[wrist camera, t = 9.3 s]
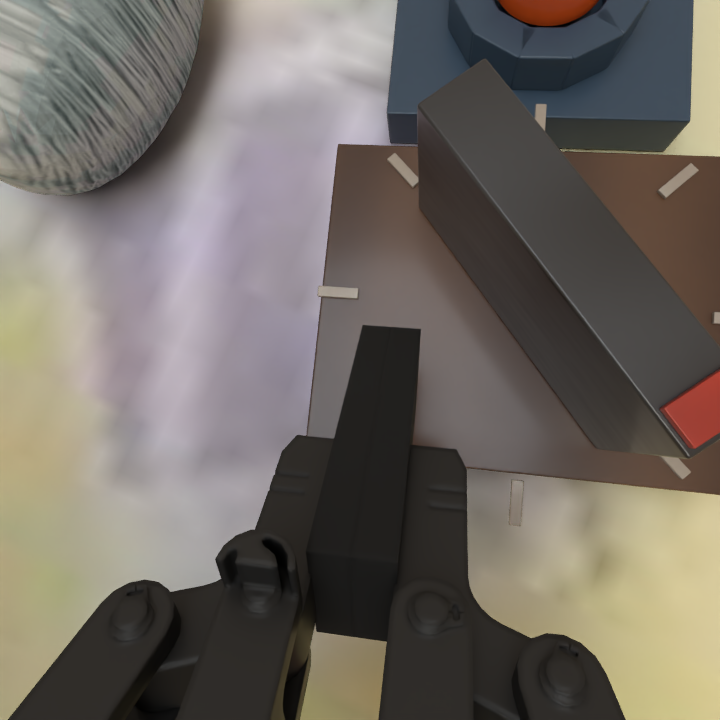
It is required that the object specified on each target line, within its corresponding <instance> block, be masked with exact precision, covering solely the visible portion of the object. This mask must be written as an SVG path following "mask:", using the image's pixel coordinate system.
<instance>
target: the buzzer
mask: <svg viewBox="0 0 720 720" xmlns="http://www.w3.org/2000/svg"><path fill="white" fill-rule="evenodd" d="M692 37H693V0H599V1H598V2H597V3H596V5H595V6H594V7H593V8H592V9H591V10H589V11H588V12H587V13H586V14H584V15H583V16H581V17H580V18H578V19H576V20H574V21H571V22H569V23H566V24H562V25H557V26H547V27H546V26H536V25H531V24H527V23H524V22H522V21H520V20H518V19H516V18H514V17H513V16H511V15H510V14H509V13H508V12H507V11H506V10H505V9H504V8H503V7H502V6H501V4H500V3H499V1H498V0H398V3H397V14H396V24H395V34H394V44H393V55H392V65H391V75H390V85H389V95H388V106H387V119H388V128H389V137H390V142H391V143H416V144H418V129H417V105H418V104H419V103H420V102H421V101H423V100H424V99H426V98H427V97H429V96H430V95H432V94H433V93H434V92H436V91H437V90H439V89H440V88H442V87H443V86H445V85H446V84H448V83H449V82H450V81H452V80H453V79H455V78H456V77H458V76H459V75H461V74H462V73H464V72H465V71H466V70H468V69H469V68H471V67H472V66H474V65H475V64H477V63H478V62H480V61H481V60H482V59H487V60H488V62H489V63H490V64H491V65H492V67H493V68H494V69H495V70H496V71H497V73H498V74H499V75H500V76H501V78H502V79H503V80H504V81H505V83H506V84H507V85H508V86H509V88H510V89H511V90H512V91H513V92H514V94H515V95H516V96H517V97H518V99H519V100H520V101H521V102H522V104H523V105H524V106H525V107H526V108H527V110H528V111H529V112H530V113H531V115H532V116H533V117H535V106H536V104H547V107H546V123H545V132H546V133H547V134H548V136H549V137H550V138H551V139H552V140H553V142H554V143H555V144H556V145H557V147H558V148H572V149H603V150H634V151H664V150H665V149H666V148H667V147H668V146H669V145H670V144H671V142H672V141H673V140H674V139H675V138H676V137H677V135H678V134H679V133H680V132H681V131H682V130H683V129H684V127H685V126H686V125H687V124H688V123H689V122H690V109H691V73H692Z"/></svg>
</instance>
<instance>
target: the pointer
mask: <svg viewBox="0 0 720 720" xmlns="http://www.w3.org/2000/svg"><path fill="white" fill-rule="evenodd" d="M417 129H418V189H419V208H420V209H421V211H422V212H423V213H424V215H425V216H426V217H427V219H428V220H429V221H430V223H431V224H432V226H433V227H434V228H435V230H436V231H437V232H438V234H439V235H440V236H441V238H442V239H443V240H444V242H445V243H446V245H447V246H448V247H449V249H450V250H451V251H452V253H453V254H454V255H455V257H456V258H457V260H458V261H459V262H460V264H461V265H462V266H463V268H464V269H465V270H466V272H467V273H468V274H469V276H470V277H471V279H472V280H473V281H474V283H475V284H476V285H477V287H478V288H479V289H480V291H481V292H482V294H483V295H484V296H485V298H486V299H487V300H488V302H489V303H490V304H491V306H492V307H493V308H494V310H495V311H496V313H497V314H498V315H499V317H500V318H501V319H502V321H503V322H504V323H505V325H506V326H507V328H508V329H509V330H510V332H511V333H512V334H513V336H514V337H515V338H516V340H517V341H518V342H519V344H520V345H521V347H522V348H523V349H524V351H525V352H526V353H527V355H528V356H529V357H530V359H531V360H532V362H533V363H534V364H535V366H536V367H537V368H538V370H539V371H540V372H541V374H542V375H543V376H544V378H545V379H546V381H547V382H548V383H549V385H550V386H551V387H552V389H553V390H554V391H555V393H556V394H557V395H558V397H559V398H560V400H561V401H562V402H563V404H564V405H565V406H566V408H567V409H568V410H569V412H570V413H571V415H572V416H573V417H574V419H575V420H576V421H577V423H578V424H579V425H580V427H581V428H582V429H583V431H584V432H585V434H586V435H587V436H588V438H589V439H590V440H591V442H592V443H593V444H594V446H595V447H596V448H597V449H601V450H610V451H619V452H628V453H637V454H646V455H655V456H664V457H673V458H682V459H691V458H693V457H694V456H696V455H697V454H699V453H700V452H702V451H703V450H705V449H706V448H708V447H709V446H711V445H712V444H714V443H715V442H717V441H718V440H720V346H719V345H718V344H717V342H716V341H715V340H714V339H713V338H712V336H711V335H710V334H709V333H708V331H707V330H706V329H705V328H704V326H703V325H702V324H701V323H700V322H699V320H698V319H697V318H696V317H695V315H694V314H693V313H692V312H691V310H690V309H689V308H688V307H687V306H686V304H685V303H684V302H683V301H682V299H681V298H680V297H679V296H678V294H677V293H676V292H675V291H674V290H673V288H672V287H671V286H670V285H669V283H668V282H667V281H666V280H665V278H664V277H663V276H662V275H661V273H660V272H659V271H658V270H657V269H656V267H655V266H654V265H653V264H652V262H651V261H650V260H649V259H648V257H647V256H646V255H645V254H644V253H643V251H642V250H641V249H640V248H639V246H638V245H637V244H636V243H635V241H634V240H633V239H632V238H631V237H630V235H629V234H628V233H627V232H626V230H625V229H624V228H623V227H622V225H621V224H620V223H619V222H618V221H617V219H616V218H615V217H614V216H613V214H612V213H611V212H610V211H609V209H608V208H607V207H606V206H605V205H604V203H603V202H602V201H601V200H600V198H599V197H598V196H597V195H596V193H595V192H594V191H593V190H592V189H591V187H590V186H589V185H588V184H587V182H586V181H585V180H584V179H583V177H582V176H581V175H580V174H579V172H578V171H577V170H576V169H575V168H574V166H573V165H572V164H571V163H570V161H569V160H568V159H567V158H566V156H565V155H564V154H563V153H562V152H561V150H560V149H559V148H558V147H557V145H556V144H555V143H554V142H553V140H552V139H551V138H550V137H549V136H548V134H547V133H546V132H545V131H544V129H543V128H542V127H541V126H540V124H539V123H538V122H537V121H536V120H535V118H534V117H533V116H532V115H531V113H530V112H529V111H528V110H527V108H526V107H525V106H524V105H523V104H522V102H521V101H520V100H519V99H518V97H517V96H516V95H515V94H514V92H513V91H512V90H511V89H510V88H509V86H508V85H507V84H506V83H505V81H504V80H503V79H502V78H501V76H500V75H499V74H498V73H497V71H496V70H495V69H494V68H493V67H492V65H491V64H490V63H489V62H488V60H487V59H482V60H481V61H480V62H478V63H477V64H475V65H474V66H472V67H471V68H469V69H468V70H466V71H465V72H464V73H462V74H461V75H459V76H458V77H456V78H455V79H453V80H452V81H450V82H449V83H448V84H446V85H445V86H443V87H442V88H440V89H439V90H437V91H436V92H434V93H433V94H432V95H430V96H429V97H427V98H426V99H424V100H423V101H421V102H420V103H419V104H418V105H417Z"/></svg>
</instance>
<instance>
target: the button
mask: <svg viewBox="0 0 720 720" xmlns="http://www.w3.org/2000/svg"><path fill="white" fill-rule="evenodd" d="M498 1H499V3H500V4H501V6H502V7H503V8H504V9H505V10H506V11H507V12H508V13H509V14H510V15H511V16H513V17H514V18H516V19H518V20H520V21H522V22H524V23H527V24H531V25H536V26H546V27H547V26H557V25H562V24H566V23H569V22H571V21H574V20H576V19H578V18H580V17H581V16H583V15H584V14H586V13H587V12H588V11H589V10H591V9H592V8H593V7H594V6H595V5H596V3H597V2H598V1H599V0H498Z"/></svg>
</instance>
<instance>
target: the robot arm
mask: <svg viewBox="0 0 720 720" xmlns="http://www.w3.org/2000/svg"><path fill="white" fill-rule="evenodd" d="M420 338H421V329H415V328H400V327H386V326H371V325H363V326H362V330H361V333H360V337H359V341H358V345H357V349H356V353H355V357H354V361H353V365H352V369H351V373H350V377H349V381H348V385H347V389H346V393H345V397H344V401H343V405H342V409H341V413H340V417H339V421H338V425H337V429H336V433H335V437H334V439H333V438H322V437H312V436H302V435H297V436H296V437H295V438H294V439H293V440H292V441H291V442H290V443H289V444H288V446H287V447H286V448H285V449H284V450H283V451H282V453H281V456H280V459H279V462H278V465H277V468H276V470H275V475H274V476H273V479H272V482H271V485H270V490H269V491H268V494H267V496H266V499H265V502H264V505H263V508H262V511H261V514H260V517H259V520H258V522H257V525H256V528H255V530H249V531H247V532H244V533H242V534H239V535H236V536H235V537H234V538H233V539H231V540H230V541H229V542H228V543H226V544H225V545H224V546H223V548H222V549H221V551H220V552H219V554H218V556H217V557H216V559H215V560H216V563H217V566H218V569H219V572H220V576H221V579H220V580H218V581H217V582H214V583H211V584H208V585H204V586H200V587H195V588H189V589H184V590H179V591H174V592H170V591H169V590H168V589H167V588H166V587H164V586H163V585H162V584H160V583H159V582H155V581H149V580H141V581H136V582H131V583H128V584H126V585H124V586H122V587H121V588H119V589H117V590H115V591H114V592H112V593H111V594H110V595H109V596H108V597H107V598H106V599H105V600H104V601H103V602H102V603H101V604H100V605H99V607H98V608H97V609H96V610H95V612H94V613H93V614H92V615H91V617H90V618H89V619H88V620H87V622H86V623H85V624H84V625H83V627H82V628H81V629H80V630H79V632H78V633H77V634H76V635H75V637H74V638H73V639H72V640H71V642H70V643H69V644H68V645H67V647H66V648H65V649H64V650H63V652H62V653H61V654H60V655H59V657H58V658H57V659H56V660H55V662H54V663H53V664H52V665H51V667H50V668H49V669H48V670H47V672H46V673H45V674H44V675H43V677H42V678H41V679H40V680H39V682H38V683H37V684H36V685H35V687H34V688H33V689H32V690H31V692H30V693H29V694H28V695H27V697H26V698H25V699H24V700H23V702H22V703H21V704H20V705H19V707H18V708H17V709H16V710H15V712H14V713H13V714H12V715H11V717H10V718H9V719H8V720H300V716H301V711H302V706H303V701H304V696H305V691H306V686H307V681H308V676H309V671H310V666H311V649H310V645H311V640H312V635H313V631H314V626H315V623H316V631H317V632H323V633H330V634H337V635H344V636H351V637H358V638H366V639H373V640H380V641H387V646H386V655H385V664H384V674H383V683H382V692H381V702H380V711H379V720H626V719H625V717H624V715H623V712H622V710H621V708H620V705H619V703H618V700H617V698H616V696H615V693H614V691H613V689H612V686H611V684H610V682H609V679H608V677H607V674H606V673H605V671H604V669H603V668H602V666H601V664H600V663H599V661H598V660H597V658H596V656H595V655H593V654H592V653H591V652H590V651H589V650H588V649H587V648H586V647H585V646H583V645H582V644H581V643H580V642H577V641H575V640H573V639H571V638H569V637H567V636H565V635H558V634H548V633H546V634H543V635H540V636H538V637H535V638H530V637H527V636H525V635H523V634H521V633H519V632H517V631H515V630H513V629H511V628H509V627H507V626H504V625H502V624H501V623H499V622H498V621H496V620H494V619H493V618H491V617H490V616H489V615H488V614H487V613H486V612H485V611H484V610H483V609H481V607H480V606H479V604H478V603H477V601H476V600H475V599H474V597H473V594H472V592H471V589H470V587H469V580H468V552H467V469H466V467H465V465H464V463H463V461H462V459H461V457H460V455H459V453H458V451H457V449H451V448H440V447H430V446H419V445H412V444H413V433H414V423H415V412H416V399H417V383H418V368H419V353H420Z"/></svg>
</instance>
